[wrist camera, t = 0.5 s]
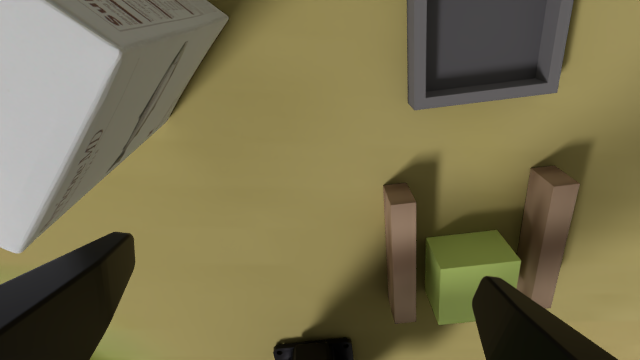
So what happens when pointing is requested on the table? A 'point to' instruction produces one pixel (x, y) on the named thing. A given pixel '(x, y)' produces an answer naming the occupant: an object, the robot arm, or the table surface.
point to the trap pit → (484, 49)
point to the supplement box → (85, 95)
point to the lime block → (465, 271)
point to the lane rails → (533, 250)
